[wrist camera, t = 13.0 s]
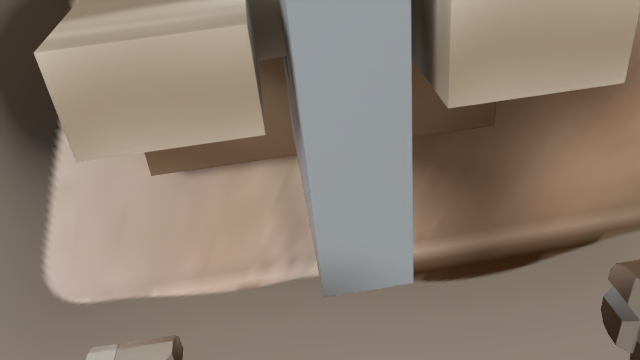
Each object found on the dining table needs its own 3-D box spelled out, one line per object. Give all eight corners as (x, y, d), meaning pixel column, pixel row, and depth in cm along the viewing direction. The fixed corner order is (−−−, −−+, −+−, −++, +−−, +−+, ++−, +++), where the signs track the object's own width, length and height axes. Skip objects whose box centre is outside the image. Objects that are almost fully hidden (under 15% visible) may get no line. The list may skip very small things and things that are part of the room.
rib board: (32, -264, 16) (-208, -363, 7) (508, -313, 17) (803, -456, 8) (155, 157, 24) (109, 354, 15) (481, 109, 25) (618, 271, 16)
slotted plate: (242, -239, 16) (248, -292, 8) (326, -248, 16) (408, -308, 9) (293, 136, 22) (323, 297, 15) (353, 128, 23) (413, 283, 15)
